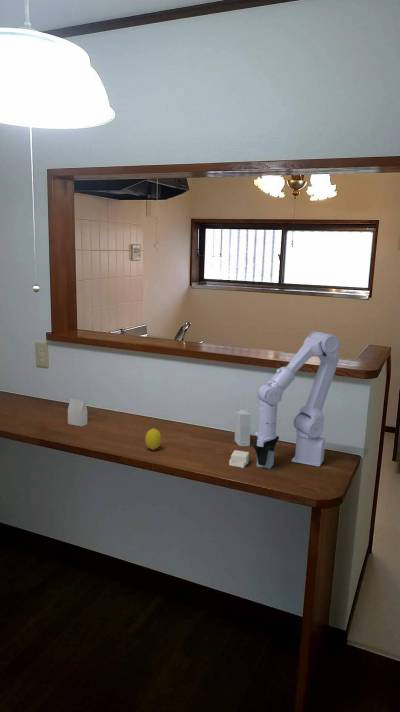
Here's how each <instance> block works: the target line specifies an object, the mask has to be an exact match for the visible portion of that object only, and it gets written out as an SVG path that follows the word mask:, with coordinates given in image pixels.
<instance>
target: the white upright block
mask: <svg viewBox="0 0 400 712" xmlns="http://www.w3.org/2000/svg"><path fill="white" fill-rule="evenodd" d="M67 424H68V425H73V426H76V427H77V426H79V427H84V426H86V425H88V408H87V403H86V401H85V400H83V399H82V400H81V399H76V398H70V400H69V404H68V407H67Z"/></svg>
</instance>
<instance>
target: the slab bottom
mask: <svg viewBox="0 0 400 712" xmlns="http://www.w3.org/2000/svg"><path fill="white" fill-rule="evenodd" d="M249 460H250V457H249V458H248V460H247V462H246V463H241V462H234V461H231V458H230V459H229V461H228V462H229V463H228V465H229V466H231V467H238V468H242V469H244V468H245V467H246V466H247V465H248V464H249V463H250V462H249Z"/></svg>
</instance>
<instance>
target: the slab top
mask: <svg viewBox="0 0 400 712" xmlns="http://www.w3.org/2000/svg"><path fill="white" fill-rule="evenodd" d="M248 458H249V459H250V451H244V450H237V449H234V451H233V452H232V454H231V455H230V459H231V461H234V462H241V463H246V462H247V460H248Z"/></svg>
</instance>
